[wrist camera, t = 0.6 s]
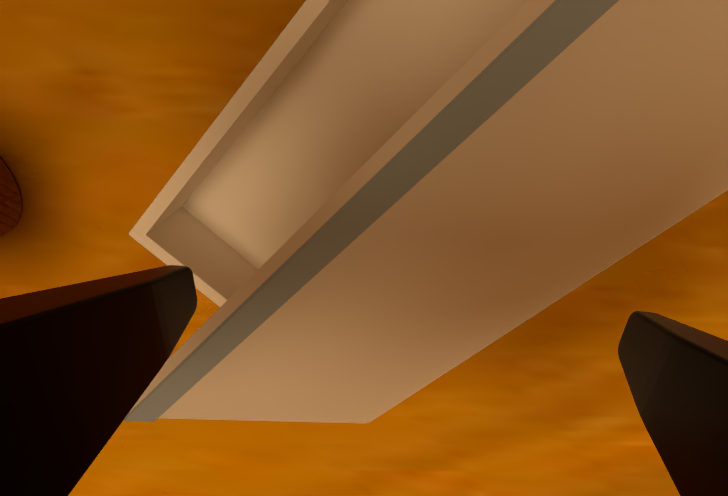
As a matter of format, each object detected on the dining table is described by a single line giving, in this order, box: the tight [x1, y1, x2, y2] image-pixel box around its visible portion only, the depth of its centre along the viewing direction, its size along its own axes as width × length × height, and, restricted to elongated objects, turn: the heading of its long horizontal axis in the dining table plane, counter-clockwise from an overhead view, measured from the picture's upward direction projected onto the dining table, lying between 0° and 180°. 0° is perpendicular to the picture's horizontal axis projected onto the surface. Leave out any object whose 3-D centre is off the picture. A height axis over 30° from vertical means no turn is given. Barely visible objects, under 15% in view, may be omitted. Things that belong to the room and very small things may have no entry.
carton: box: [129, 0, 529, 307], centre depth 20 cm, size 14×22×4 cm, turn 137°
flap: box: [124, 0, 728, 423], centre depth 15 cm, size 12×21×1 cm
